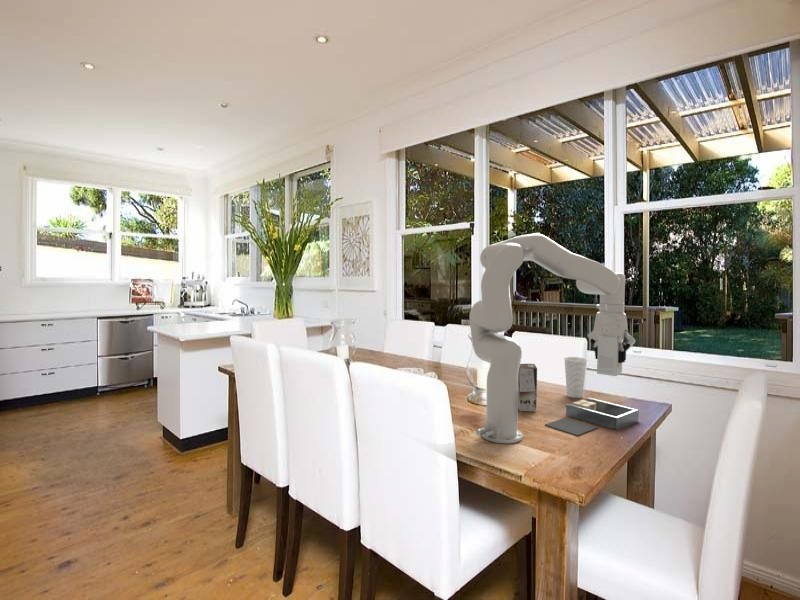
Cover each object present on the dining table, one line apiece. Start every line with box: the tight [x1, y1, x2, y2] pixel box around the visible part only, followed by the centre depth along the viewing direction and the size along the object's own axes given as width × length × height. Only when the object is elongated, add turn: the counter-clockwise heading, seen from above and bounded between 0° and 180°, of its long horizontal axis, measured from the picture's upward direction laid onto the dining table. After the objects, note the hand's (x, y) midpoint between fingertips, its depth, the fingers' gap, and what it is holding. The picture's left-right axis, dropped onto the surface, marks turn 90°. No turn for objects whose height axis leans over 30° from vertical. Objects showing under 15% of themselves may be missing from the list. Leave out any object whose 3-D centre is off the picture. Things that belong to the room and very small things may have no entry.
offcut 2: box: [580, 402, 596, 411], centre depth 159 cm, size 6×2×4 cm, turn 126°
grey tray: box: [565, 397, 640, 431], centre depth 155 cm, size 14×18×4 cm
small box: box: [596, 335, 623, 377], centre depth 151 cm, size 8×6×13 cm
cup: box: [564, 356, 587, 399], centre depth 181 cm, size 8×8×16 cm
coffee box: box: [518, 363, 538, 413], centre depth 167 cm, size 9×6×16 cm
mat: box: [544, 416, 600, 437], centre depth 146 cm, size 12×12×1 cm
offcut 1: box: [572, 399, 588, 407], centre depth 161 cm, size 6×2×4 cm, turn 126°
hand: (609, 360), depth 151 cm, fingers closed on small box, 7 cm apart
